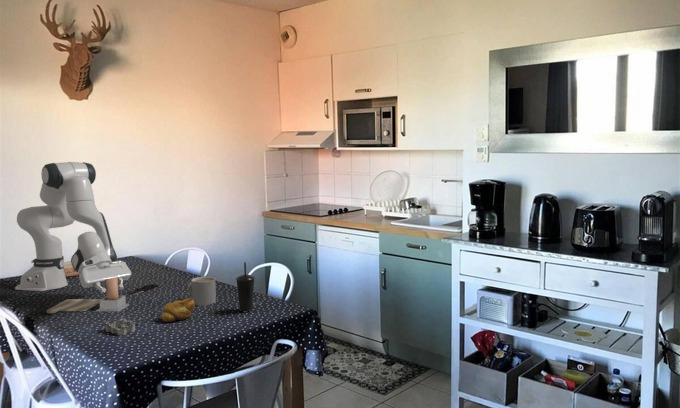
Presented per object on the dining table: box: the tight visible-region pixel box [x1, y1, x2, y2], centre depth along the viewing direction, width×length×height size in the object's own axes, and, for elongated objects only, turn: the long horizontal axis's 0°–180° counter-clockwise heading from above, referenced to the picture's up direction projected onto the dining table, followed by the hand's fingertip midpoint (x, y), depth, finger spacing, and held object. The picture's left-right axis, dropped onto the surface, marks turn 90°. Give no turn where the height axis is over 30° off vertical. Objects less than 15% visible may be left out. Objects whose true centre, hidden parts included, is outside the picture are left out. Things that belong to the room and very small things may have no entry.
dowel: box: [105, 278, 119, 300], centre depth 227 cm, size 4×4×12 cm
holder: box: [95, 295, 131, 312], centre depth 227 cm, size 10×10×5 cm
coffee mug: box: [188, 276, 217, 307], centre depth 238 cm, size 13×10×10 cm
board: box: [46, 298, 102, 314], centre depth 231 cm, size 16×16×1 cm
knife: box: [126, 283, 159, 296], centre depth 254 cm, size 25×6×1 cm, turn 154°
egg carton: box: [103, 318, 137, 336], centre depth 202 cm, size 11×8×4 cm
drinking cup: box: [235, 262, 256, 311], centre depth 224 cm, size 8×8×20 cm
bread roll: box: [161, 297, 196, 323], centre depth 215 cm, size 13×10×8 cm
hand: (112, 290), depth 226 cm, fingers open, 6 cm apart
